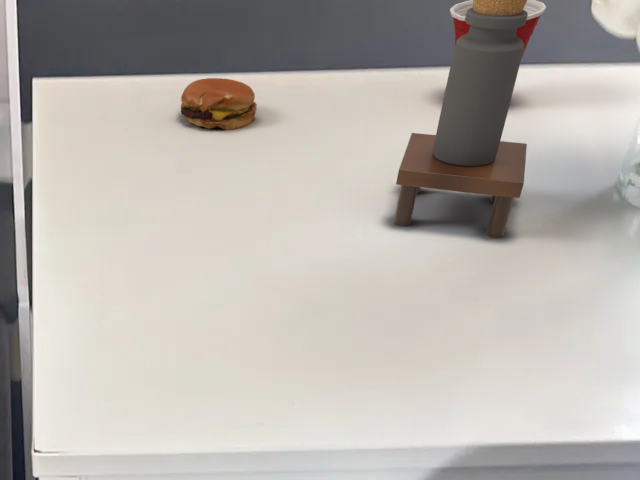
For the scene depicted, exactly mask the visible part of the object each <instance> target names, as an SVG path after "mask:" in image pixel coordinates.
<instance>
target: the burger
mask: <svg viewBox="0 0 640 480" xmlns="http://www.w3.org/2000/svg"><path fill="white" fill-rule="evenodd" d="M255 98H256V96H255V92H254V91H253V89H252V88H251V86H249V85H248V84H246V83H244V82H243V81H238V80H235V79H229V78H221V77H208V78H201V79H196V80H194V81H192V82H190V83H189V84H188V85H187V86H186V87H185V88H184V89H183V92H182V94H181V98H180V102H181V104H180V114H181V115H182V116H183V117H184V118H185V120H187V122H189V124H192V125H195V126H197V127H204V128H205V129H207V130H210V129H215V128H221V129H222V130H225V131H233V130H237V129H242V128H245V127H247V126H249V125H250V124H251V123H252V121H253V120H254V118H255V115H256V112H257V109H258V108H257V107H258V106H257V105H258V103H256V102H255Z"/></svg>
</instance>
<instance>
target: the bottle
mask: <svg viewBox="0 0 640 480" xmlns="http://www.w3.org/2000/svg"><path fill="white" fill-rule="evenodd" d="M526 2H527V0H473V7H472V8H470V9H468V10H467V12H466V17H465V22H466V23H467V24H469V25H470V29H469V33H467V34H465V35H463V36H461V37H460V38H459V39H458V40H457V41H456V44H455V43H454V48H453V53H452V57H451V62H450V67H449V72H448V75H447V80H446V85H445V89H444V94H443V98H442V99H443V100H442V104H441V109H440V114H439V119H438V123H437V128H436V132H435V135H436V137H435V142H434V147H433V155H434V157H435V158H437V159H438V160H440V161H443V162H446V163H450V164H454V165H461V166H480V165H486V164H489V163H492V162H493V161H494V160H495V158H496V155H497V151H498V148H499V144H500V141H502V136H503V132H504V128H505V125H506V122H507V121H506V120H507V116H508V113H509V108H510V106H511V101H512V97H513V93H514V90H515V85H516V82H517V77H518V73H519V70H520V66H521V61H522V59H521V57H522V58H523V56H522V53H523V49H524V43H523V42H522V40H521V39H520V38H519V37H517V36H516V32H517V28H519V27H522V26H523V25H525V23H526V20H527V16H528V13H527V12H526V11H525V10H523V9H524V6H525V4H526Z"/></svg>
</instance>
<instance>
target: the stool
mask: <svg viewBox="0 0 640 480" xmlns="http://www.w3.org/2000/svg"><path fill="white" fill-rule="evenodd" d="M435 137H436V134H428V133H419V132H418V133H417V132H411V134H410V138H409V140H408V143H407V145H406V148H405V151H404V153H403V157H402V159H401V161H400V165H399V168H398V172H397V177H396V183H395V184H396V185H397V186H400V187H399V191H398V192H399V193H398V196H397V197H398V198H397V202H396V208H395V211H394V217H393V225H395V226H397V227H410V225H411V223H412V218H413V213H414V209H415V204H416V199H417V195H418V194H420V193H421V189H422V188H423V189H431V190H440V191H441V190H442V191H450V192H458V193H467V194H477V195H486V196H491V198H490V203H492V208H491V212H490V216H489V219H488V224H487V228H486V231H485V235H486V236H487V237H488V238H491V239H502V238H504V236H505V233H506V230H507V229H506V228H507V225H508V221H509V219H510V214H511V210H512V206H513V203H514V199H520V198H521V195H522V191H523V187H524V184H525V175H526V159H527V158H526V157H527V146H528V144H527V143H526V142H525V143H524V142H514V141H513V142H512V141H502V140H500V144H499V148H498V151H497V155H496V158H495V160H494V161H493V162H492V163H489V164H486V165H480V166H461V165H454V164H450V163H446V162H443V161H440V160H438V159H437V158H435V157H434V155H433V147H434V142H435Z"/></svg>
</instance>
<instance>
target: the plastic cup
mask: <svg viewBox="0 0 640 480" xmlns="http://www.w3.org/2000/svg"><path fill="white" fill-rule="evenodd" d="M472 7H473V0H465V1H463V2H460V3H459V2H458V3H456V4H454V5H453V6H452V7H450V8H449V13H450V15H451V17H452V19H453V25H454V45H455V44H456V41H457V40H458V39H459V38H460V37H461V36H463V35H465V34H467V33H469V29H470V25H469V24H467V23H466V22H465V17H466V12H467V10H468V9H470V8H472ZM546 9H547V6H546V4H545V3H544V2H542V1H539V0H527V2H526V4H525V6H524V9H523V10H525V11H526V12H527V13H528V16H527V20H526V23H525V25H523V26H522V27H519V28H517V32H516V36H517V37H519V38H520V39H521V40H522V42H523V43H524V49H523V53H522V57H521V60H522V58H523V57H524V54H525V51H526V49H527V46H528V45H529V41H530V39H531V37H532V36H533V33H534V30H535V28H536V26H537V25H538V22H539V19H540V18H541V16H542V15H543V14H544V13H545V12H546Z"/></svg>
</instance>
